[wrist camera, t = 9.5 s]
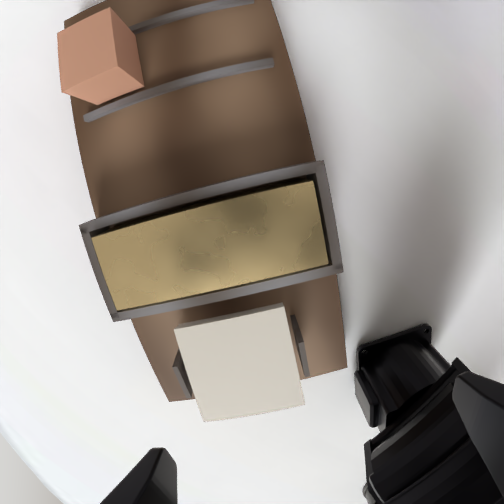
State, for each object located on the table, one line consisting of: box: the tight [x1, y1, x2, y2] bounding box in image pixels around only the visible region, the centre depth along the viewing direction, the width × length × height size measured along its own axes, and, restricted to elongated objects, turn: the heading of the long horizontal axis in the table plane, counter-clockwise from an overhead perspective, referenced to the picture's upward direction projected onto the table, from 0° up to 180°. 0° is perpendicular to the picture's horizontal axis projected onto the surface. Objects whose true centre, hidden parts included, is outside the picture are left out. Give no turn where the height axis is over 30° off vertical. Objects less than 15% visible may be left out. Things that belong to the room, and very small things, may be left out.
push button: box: [91, 179, 328, 310], centre depth 15 cm, size 11×4×2 cm, turn 103°
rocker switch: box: [174, 302, 305, 422], centre depth 17 cm, size 6×6×1 cm
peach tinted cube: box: [57, 7, 145, 105], centre depth 12 cm, size 3×4×4 cm
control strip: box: [64, 0, 347, 402], centre depth 16 cm, size 13×28×5 cm, turn 13°
